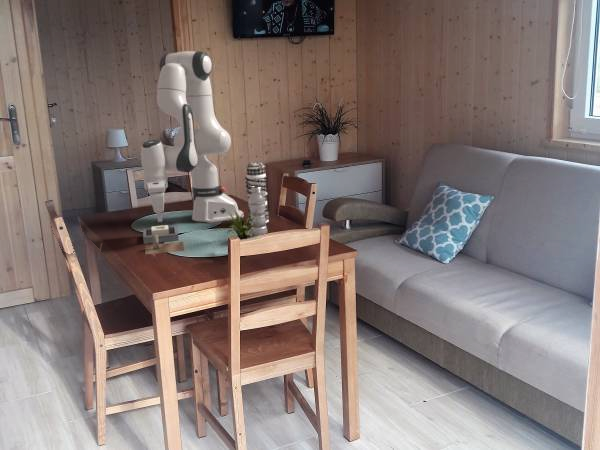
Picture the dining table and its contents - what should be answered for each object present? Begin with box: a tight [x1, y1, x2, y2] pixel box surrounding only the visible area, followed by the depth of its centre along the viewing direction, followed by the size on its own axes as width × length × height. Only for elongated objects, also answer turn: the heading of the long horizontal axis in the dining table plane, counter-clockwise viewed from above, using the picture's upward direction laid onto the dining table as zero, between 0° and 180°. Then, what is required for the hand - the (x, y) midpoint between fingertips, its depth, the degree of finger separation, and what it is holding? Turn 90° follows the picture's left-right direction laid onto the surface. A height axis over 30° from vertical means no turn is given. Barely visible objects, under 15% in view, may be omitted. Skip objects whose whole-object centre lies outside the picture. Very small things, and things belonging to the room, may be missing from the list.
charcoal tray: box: [142, 225, 180, 245], centre depth 261 cm, size 13×13×4 cm
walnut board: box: [144, 235, 185, 256], centre depth 247 cm, size 14×12×6 cm
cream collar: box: [151, 224, 169, 236], centre depth 261 cm, size 6×6×4 cm
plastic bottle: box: [247, 186, 268, 238], centre depth 256 cm, size 6×7×20 cm
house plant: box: [222, 211, 258, 240], centre depth 237 cm, size 14×14×16 cm
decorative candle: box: [244, 161, 270, 224], centre depth 280 cm, size 9×9×25 cm
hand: (159, 218), depth 260 cm, fingers open, 8 cm apart
